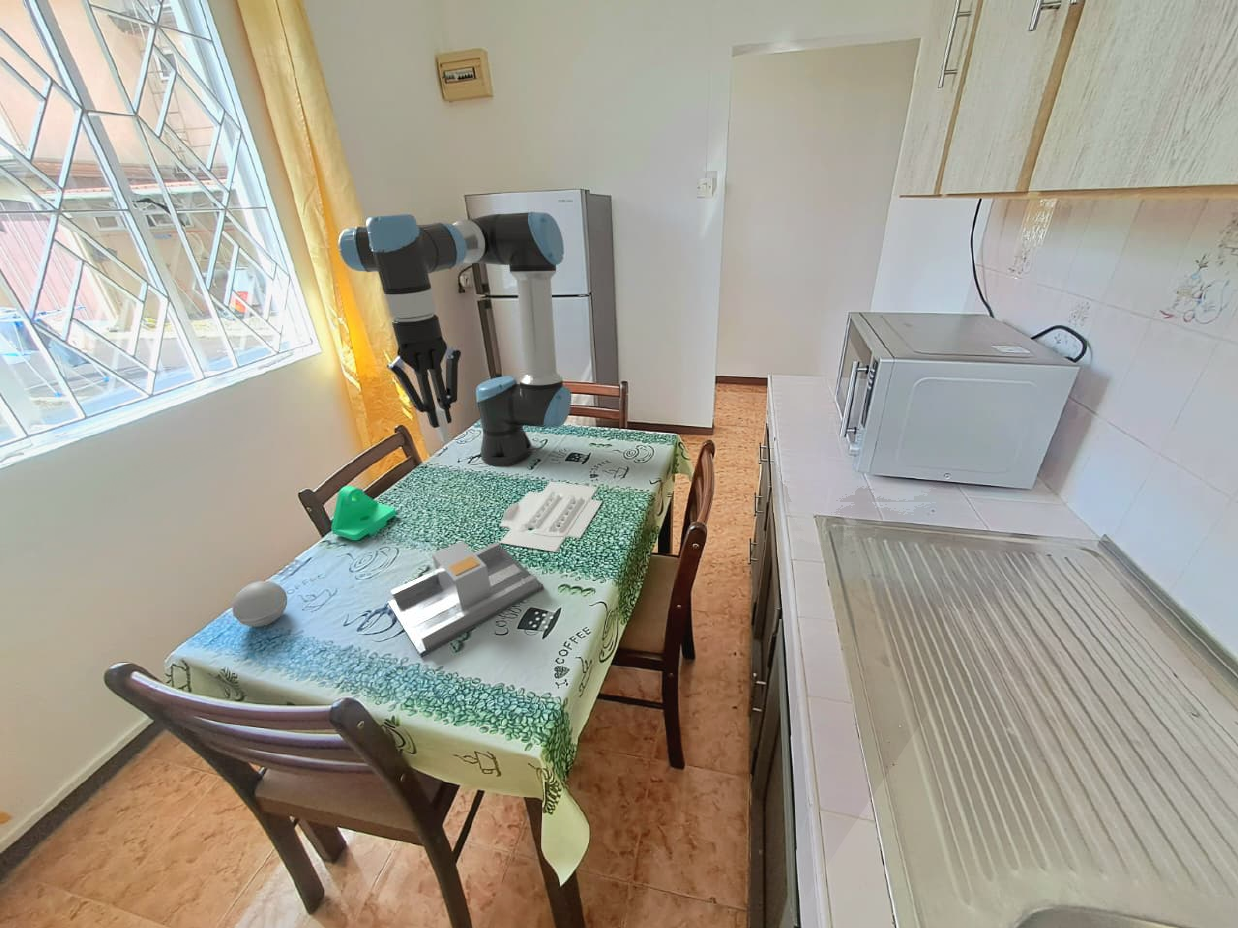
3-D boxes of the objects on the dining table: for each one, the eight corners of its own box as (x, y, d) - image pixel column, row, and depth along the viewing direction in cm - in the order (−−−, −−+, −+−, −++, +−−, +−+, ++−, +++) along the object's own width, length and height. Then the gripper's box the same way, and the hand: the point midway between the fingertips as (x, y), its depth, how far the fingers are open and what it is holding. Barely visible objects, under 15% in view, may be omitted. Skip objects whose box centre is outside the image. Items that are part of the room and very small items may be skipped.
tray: (610, 491, 127) (609, 479, 125) (571, 561, 104) (569, 548, 102) (538, 483, 132) (537, 471, 131) (486, 548, 109) (483, 534, 107)
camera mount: (357, 545, 110) (344, 506, 105) (334, 537, 113) (320, 499, 108) (399, 517, 119) (388, 480, 114) (376, 510, 122) (365, 475, 117)
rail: (503, 551, 105) (501, 538, 103) (543, 589, 94) (541, 575, 92) (389, 606, 92) (385, 592, 90) (421, 657, 81) (416, 642, 79)
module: (469, 573, 97) (462, 539, 94) (493, 599, 91) (486, 564, 87) (440, 587, 94) (431, 553, 90) (463, 615, 87) (454, 579, 83)
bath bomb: (282, 598, 95) (266, 566, 91) (301, 614, 91) (286, 581, 87) (235, 624, 89) (216, 591, 85) (254, 643, 85) (235, 609, 81)
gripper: (441, 307, 89) (467, 424, 101) (367, 320, 82) (404, 445, 93) (459, 312, 84) (484, 435, 96) (383, 327, 77) (420, 458, 88)
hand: (445, 440), depth 95 cm, fingers closed
